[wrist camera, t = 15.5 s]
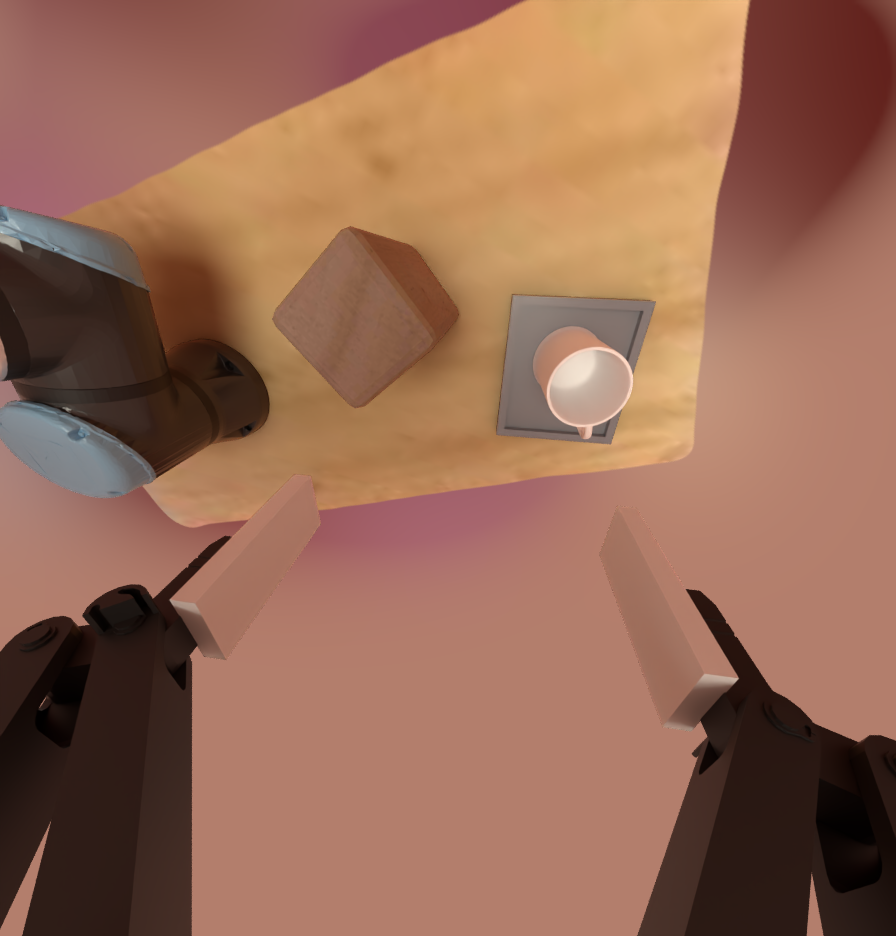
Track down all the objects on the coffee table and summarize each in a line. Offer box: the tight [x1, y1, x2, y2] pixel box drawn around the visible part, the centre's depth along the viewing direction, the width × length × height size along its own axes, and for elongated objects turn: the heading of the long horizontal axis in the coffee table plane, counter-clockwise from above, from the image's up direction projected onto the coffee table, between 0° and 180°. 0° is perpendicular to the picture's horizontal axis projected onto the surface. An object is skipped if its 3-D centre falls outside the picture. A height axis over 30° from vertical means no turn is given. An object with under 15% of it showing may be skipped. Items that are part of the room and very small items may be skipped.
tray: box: [496, 294, 656, 444], centre depth 44 cm, size 16×18×2 cm
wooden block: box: [272, 226, 459, 408], centre depth 34 cm, size 10×10×20 cm
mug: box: [533, 326, 633, 439], centre depth 38 cm, size 12×8×12 cm
